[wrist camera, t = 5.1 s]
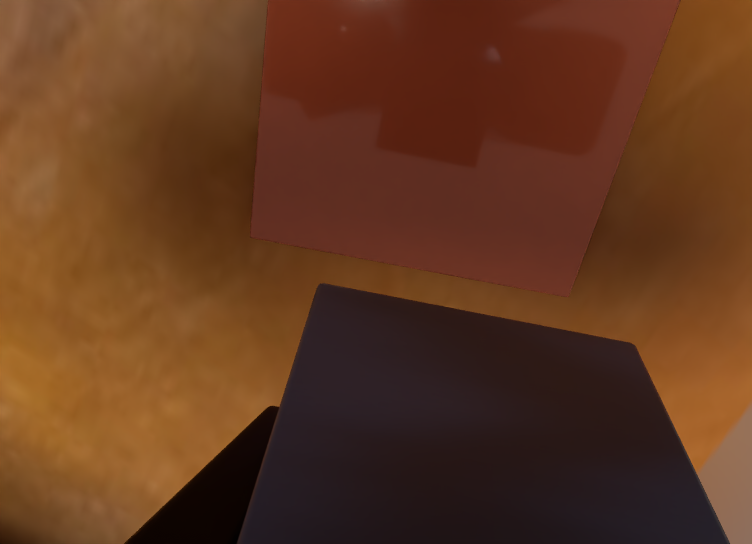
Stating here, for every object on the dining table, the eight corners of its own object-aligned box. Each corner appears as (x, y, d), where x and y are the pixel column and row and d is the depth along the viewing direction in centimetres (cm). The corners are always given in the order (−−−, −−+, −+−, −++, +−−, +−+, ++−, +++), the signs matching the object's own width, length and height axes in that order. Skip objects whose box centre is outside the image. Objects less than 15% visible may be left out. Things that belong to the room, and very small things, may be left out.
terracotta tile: (696, -65, 15) (705, -64, 15) (565, 288, 20) (569, 298, 20) (283, -145, 15) (278, -147, 15) (253, 229, 20) (249, 238, 19)
